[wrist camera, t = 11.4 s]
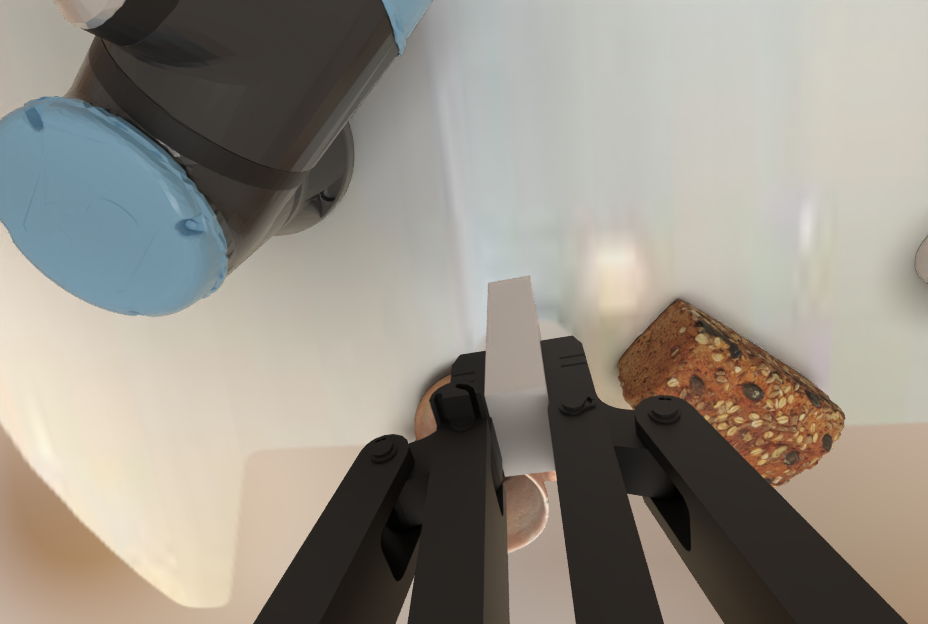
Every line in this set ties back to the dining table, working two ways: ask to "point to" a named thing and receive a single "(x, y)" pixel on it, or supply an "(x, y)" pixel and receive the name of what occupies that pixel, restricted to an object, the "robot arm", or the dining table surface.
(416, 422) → the ceramic jug
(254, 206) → the robot arm
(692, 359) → the bread
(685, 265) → the dining table surface
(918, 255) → the coffee cup
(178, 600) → the dining table surface
